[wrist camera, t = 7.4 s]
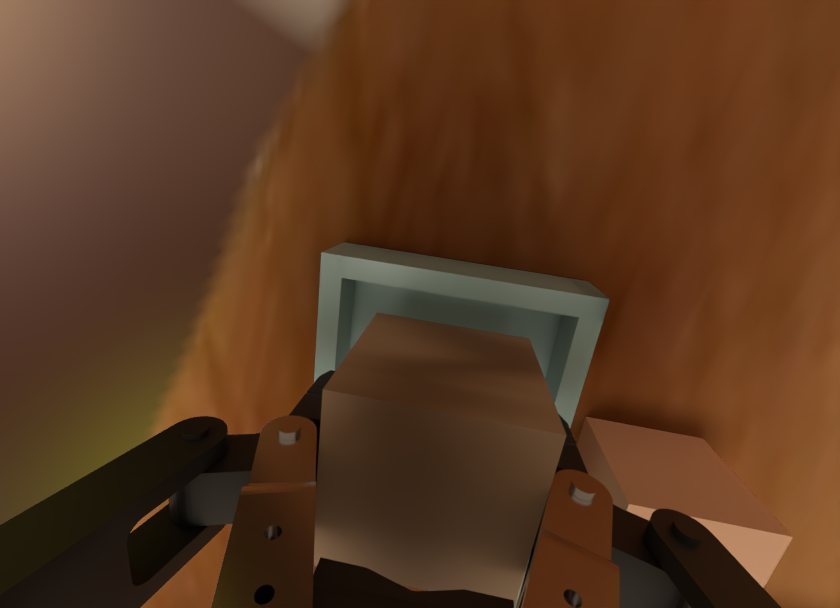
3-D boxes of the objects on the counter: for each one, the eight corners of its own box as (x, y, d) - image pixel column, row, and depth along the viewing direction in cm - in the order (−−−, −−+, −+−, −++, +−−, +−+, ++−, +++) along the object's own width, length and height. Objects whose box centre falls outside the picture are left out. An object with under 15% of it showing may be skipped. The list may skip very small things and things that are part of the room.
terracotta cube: (701, 437, 17) (792, 537, 12) (663, 524, 18) (730, 643, 14) (585, 415, 17) (629, 504, 12) (557, 503, 19) (587, 611, 14)
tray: (588, 281, 15) (609, 299, 13) (509, 559, 20) (514, 609, 18) (343, 242, 16) (321, 252, 14) (322, 518, 21) (303, 562, 18)
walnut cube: (529, 338, 12) (566, 435, 8) (498, 464, 14) (513, 609, 9) (377, 312, 13) (322, 389, 8) (363, 438, 14) (311, 564, 10)
